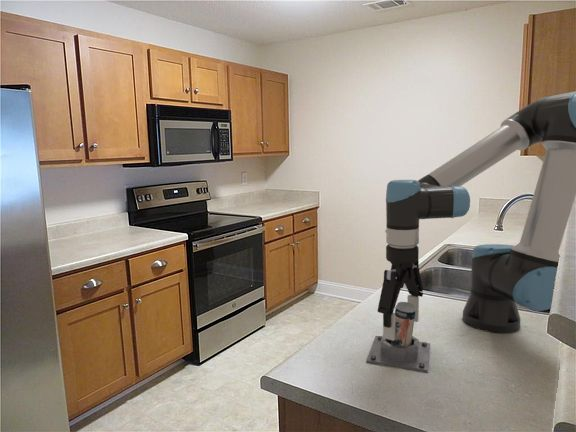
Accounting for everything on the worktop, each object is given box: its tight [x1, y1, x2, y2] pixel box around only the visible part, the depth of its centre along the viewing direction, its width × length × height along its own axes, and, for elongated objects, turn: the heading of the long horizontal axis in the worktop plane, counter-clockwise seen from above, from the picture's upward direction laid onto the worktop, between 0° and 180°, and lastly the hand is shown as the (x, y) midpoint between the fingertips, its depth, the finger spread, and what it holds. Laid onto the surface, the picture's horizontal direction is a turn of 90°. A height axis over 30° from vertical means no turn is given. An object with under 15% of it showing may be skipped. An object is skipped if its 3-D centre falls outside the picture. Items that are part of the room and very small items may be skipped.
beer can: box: [391, 301, 416, 347], centre depth 102 cm, size 5×5×12 cm
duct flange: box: [365, 335, 431, 373], centre depth 102 cm, size 14×14×4 cm
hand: (401, 329), depth 102 cm, fingers open, 12 cm apart
